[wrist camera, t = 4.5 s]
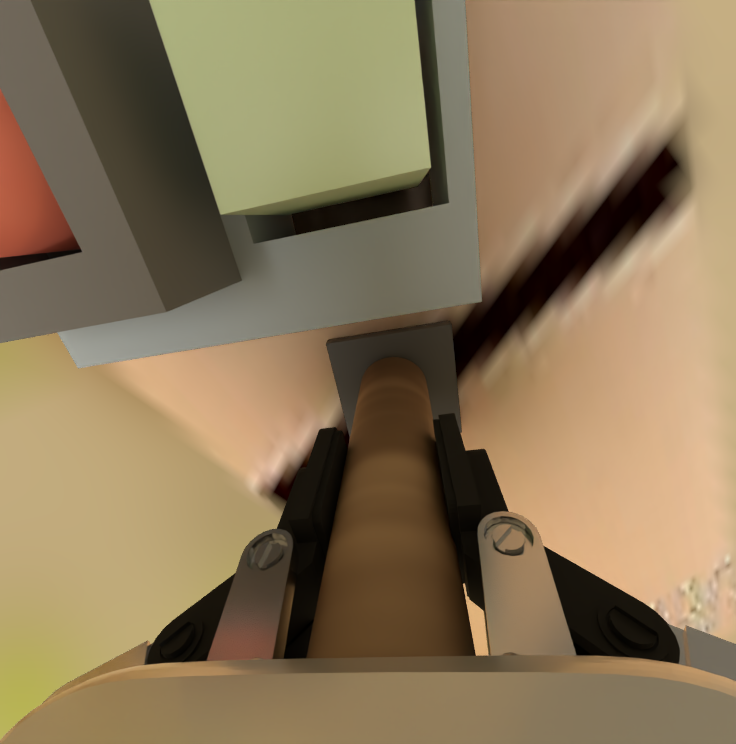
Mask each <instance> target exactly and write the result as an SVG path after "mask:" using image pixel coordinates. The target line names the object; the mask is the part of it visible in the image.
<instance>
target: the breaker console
mask: <svg viewBox="0 0 736 744" xmlns="http://www.w3.org/2000/svg"><path fill="white" fill-rule="evenodd" d="M414 1H415V11H416V21H417V31H418V41H419V51H420V61H421V71H422V81H423V91H424V101H425V111H426V121H427V131H428V141H429V151H430V161H431V168H430V169H429V177H430V186H431V196H432V206H433V207H428V208H423V209H418V210H413V211H409V212H404V213H399V214H394V215H390V216H385V217H380V218H375V219H370V220H366V221H361V222H356V223H351V224H347V225H342V226H337V227H332V228H328V229H323V230H318V231H313V232H308V233H304V234H299V235H296V231H295V227H294V223H293V219H292V216H291V214H290V215H221V214H220V211H219V208H218V205H217V202H216V199H215V196H214V193H213V190H212V187H211V184H210V181H209V178H208V175H207V172H206V169H205V166H204V163H203V160H202V157H201V154H200V151H199V148H198V145H197V142H196V139H195V136H194V133H193V130H192V127H191V124H190V121H189V118H188V115H187V112H186V109H185V106H184V103H183V100H182V97H181V94H180V91H179V88H178V85H177V82H176V79H175V76H174V73H173V70H172V67H171V64H170V61H169V58H168V55H167V52H166V49H165V46H164V43H163V40H162V37H161V34H160V31H159V28H158V25H157V22H156V19H155V16H154V13H153V10H152V7H151V4H150V1H149V0H0V89H1V91H2V93H3V95H4V97H5V99H6V101H7V103H8V105H9V107H10V109H11V111H12V113H13V115H14V117H15V119H16V121H17V123H18V125H19V127H20V129H21V131H22V133H23V135H24V137H25V139H26V141H27V143H28V145H29V147H30V149H31V151H32V153H33V155H34V157H35V159H36V161H37V163H38V165H39V167H40V169H41V171H42V173H43V175H44V177H45V179H46V181H47V183H48V185H49V187H50V189H51V191H52V193H53V195H54V197H55V199H56V201H57V203H58V205H59V207H60V209H61V211H62V213H63V215H64V217H65V219H66V221H67V222H68V224H69V226H70V228H71V230H72V232H73V234H74V236H75V238H76V240H77V242H78V244H79V246H80V248H81V249H77V250H68V251H58V252H49V253H40V254H30V255H21V256H11V257H2V258H0V343H3V342H8V341H14V340H19V339H24V338H30V337H35V336H41V335H46V334H52V333H58V335H59V336H60V338H61V340H62V342H63V343H64V345H65V347H66V348H67V350H68V352H69V354H70V355H71V357H72V359H73V360H74V362H75V364H76V365H77V367H78V368H83V367H89V366H95V365H101V364H107V363H113V362H119V361H125V360H132V359H138V358H144V357H150V356H156V355H162V354H168V353H174V352H180V351H186V350H192V349H198V348H204V347H210V346H217V345H223V344H229V343H235V342H241V341H247V340H253V339H259V338H265V337H271V336H277V335H283V334H289V333H295V332H301V331H308V330H314V329H320V328H326V327H332V326H338V325H344V324H350V323H356V322H362V321H368V320H374V319H380V318H386V317H392V316H399V315H405V314H411V313H417V312H423V311H429V310H435V309H441V308H447V307H453V306H459V305H465V304H471V303H477V302H482V294H481V276H480V258H479V240H478V222H477V203H476V185H475V167H474V149H473V131H472V113H471V95H470V77H469V59H468V41H467V23H466V5H465V0H414Z"/></svg>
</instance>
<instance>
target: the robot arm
mask: <svg viewBox="0 0 736 744" xmlns="http://www.w3.org/2000/svg"><path fill="white" fill-rule="evenodd" d="M438 418H439V419H434V420H433V427H434V434H435V442H436V447H437V453H438V459H439V465H440V471H441V477H442V482H443V488H444V494H445V500H446V506H447V512H448V517H449V523H450V529H451V535H452V538H453V540H454V543H455V545H456V549H457V554H458V560H459V566H460V571H461V577H462V582H463V584H464V583H465V586H466V591H467V596H469V599H470V600H471V601H472V602H474V603H475V604H476V605H477V606H479V607H480V608H481V609H482V610H483V611H484V619H485V628H486V637H487V647H488V656H419V657H361V658H308V659H306V657H307V652H308V647H309V642H310V637H311V632H312V627H313V622H314V617H315V612H316V607H317V602H318V597H319V592H320V587H321V582H322V576H323V571H324V566H325V561H326V556H327V551H328V546H329V541H330V536H331V531H332V526H333V521H334V516H335V511H336V506H337V501H338V496H339V491H340V486H341V481H342V476H343V471H344V466H345V461H346V456H347V451H348V450H347V447H346V443H345V439H344V435H343V432H342V431H337V429H336V428H335V427H333V428H325V429H320V430H319V432H318V435H317V438H316V441H315V444H314V447H313V450H312V453H311V456H310V458H309V461H308V464H307V467H305V468H301V469H299V471H298V473H297V476H296V479H295V481H294V484H293V487H292V489H291V492H290V495H289V498H288V500H287V503H286V506H285V508H284V511H283V514H282V516H281V519H280V522H279V524H278V527H277V529H272V530H269V531H265V532H263V533H261V534H259V535H258V536H256V537H255V538H254V539H253V540H252V541H250V543H249V544H248V545H247V546H246V548H245V549H244V551H243V553H242V556H241V559H240V562H239V565H238V568H237V571H236V573H235V574H234V575H232V576H231V577H230V578H228V579H227V580H226V581H225V582H223V583H222V584H220V585H219V586H218V587H216V588H215V589H214V590H212V591H211V592H210V593H209V594H207V595H206V596H204V597H203V598H202V599H201V600H199V601H198V602H197V603H195V604H194V605H193V606H191V607H190V608H189V609H187V610H186V611H185V612H183V613H182V614H181V615H179V616H178V617H177V618H176V619H174V620H173V621H172V622H171V623H170V624H168V625H167V626H166V627H165V628H164V629H163V630H162V632H161V633H160V634H159V635H158V636H157V638H156V639H155V641H154V643H152V644H150V643H149V641H146V642H144V643H142V644H140V645H138V646H136V647H134V648H133V649H131V650H129V651H127V652H125V653H123V654H121V655H119V656H117V657H115V658H114V659H112V660H110V661H108V662H106V663H104V664H102V665H100V666H98V667H97V668H95V669H93V670H91V671H89V672H87V673H85V674H83V675H81V676H79V677H77V678H76V679H74V680H72V681H70V682H68V683H66V684H65V685H63V686H62V687H60V688H59V689H57V690H56V691H55V692H54V693H53V694H52V695H50V696H49V698H47V699H46V700H45V701H44V702H43V703H42V704H41V705H40V706H38V707H37V708H35V709H33V710H32V711H31V712H30V713H28V714H27V715H26V716H25V717H24V718H22V719H21V720H20V721H19V722H18V723H17V724H16V725H15V726H14V727H13V728H12V729H11V730H10V731H8V733H6V734H5V736H4V737H3V738H2V739H1V740H0V744H736V644H734V643H731V642H729V641H726V640H723V639H721V638H718V637H715V636H713V635H710V634H707V633H705V632H702V631H699V630H697V629H694V628H691V627H689V626H685V629H684V630H682V629H680V628H677V627H674V626H672V625H669V624H668V623H667V622H666V621H665V620H664V619H663V618H662V617H661V616H660V615H659V614H658V613H657V612H656V611H654V610H653V609H651V608H650V607H649V606H647V605H646V604H644V603H643V602H641V601H639V600H637V599H636V598H634V597H632V596H630V595H629V594H627V593H625V592H623V591H622V590H620V589H618V588H616V587H615V586H613V585H611V584H609V583H608V582H606V581H604V580H602V579H601V578H599V577H597V576H595V575H594V574H592V573H590V572H588V571H587V570H585V569H583V568H581V567H580V566H578V565H576V564H574V563H573V562H571V561H569V560H567V559H566V558H564V557H562V556H560V555H559V554H557V553H555V552H553V551H552V550H550V549H548V548H546V547H545V546H543V543H542V540H541V536H540V534H539V532H538V530H537V528H536V527H535V526H534V525H533V524H532V523H531V522H530V521H529V520H528V519H526V518H524V517H523V516H521V515H518V514H516V513H513V512H509V511H508V509H507V506H506V503H505V501H504V498H503V495H502V493H501V490H500V487H499V485H498V482H497V479H496V477H495V474H494V471H493V469H492V466H491V463H490V460H489V458H488V455H487V453H486V450H485V449H478V450H468V451H465V448H464V444H463V441H462V437H461V434H460V431H459V427H458V424H457V420H456V417H455V414H454V413H449V414H441V415H438Z"/></svg>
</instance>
